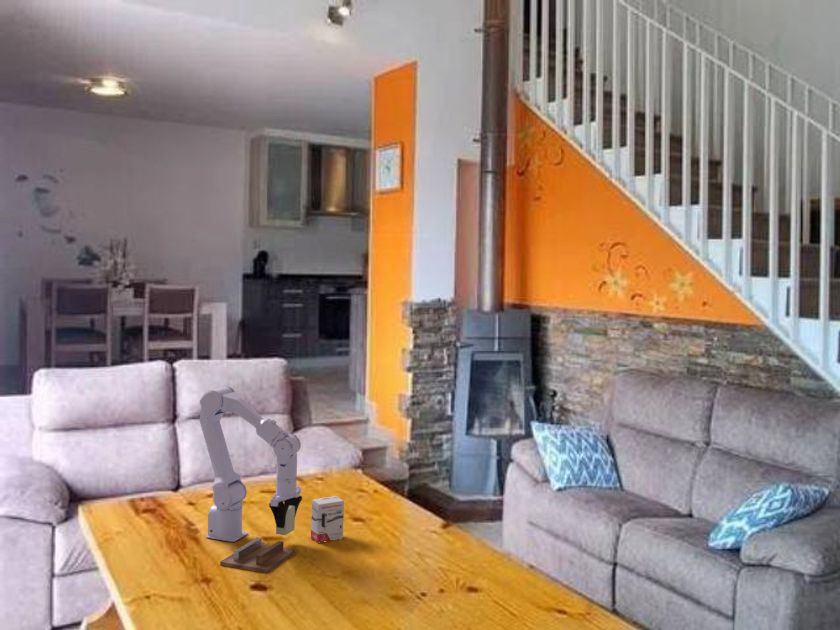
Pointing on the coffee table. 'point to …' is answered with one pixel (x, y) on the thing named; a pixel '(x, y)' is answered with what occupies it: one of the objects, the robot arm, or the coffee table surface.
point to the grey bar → (247, 549)
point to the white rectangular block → (288, 522)
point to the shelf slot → (261, 558)
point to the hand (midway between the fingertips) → (285, 524)
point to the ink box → (327, 519)
